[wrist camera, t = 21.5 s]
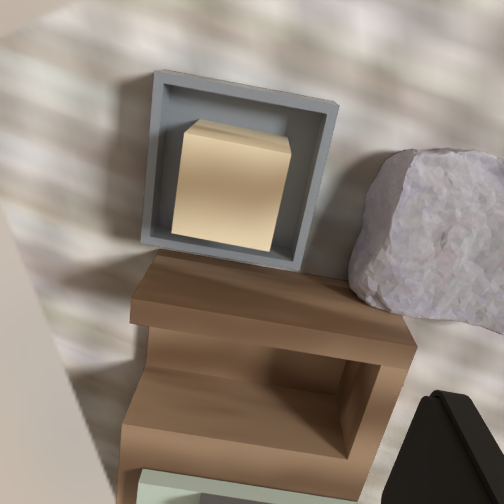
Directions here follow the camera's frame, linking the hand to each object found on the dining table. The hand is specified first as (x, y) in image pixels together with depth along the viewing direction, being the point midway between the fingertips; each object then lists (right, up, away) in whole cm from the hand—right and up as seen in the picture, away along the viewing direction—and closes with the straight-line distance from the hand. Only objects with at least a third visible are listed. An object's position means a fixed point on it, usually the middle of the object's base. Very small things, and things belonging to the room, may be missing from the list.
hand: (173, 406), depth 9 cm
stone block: (+14, +5, +20) cm, 24 cm away
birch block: (+1, +8, +18) cm, 19 cm away
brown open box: (+2, -5, +24) cm, 24 cm away
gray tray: (+1, +8, +18) cm, 20 cm away
